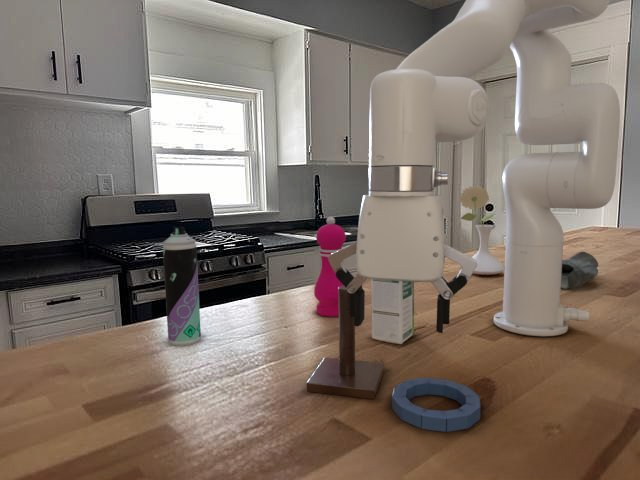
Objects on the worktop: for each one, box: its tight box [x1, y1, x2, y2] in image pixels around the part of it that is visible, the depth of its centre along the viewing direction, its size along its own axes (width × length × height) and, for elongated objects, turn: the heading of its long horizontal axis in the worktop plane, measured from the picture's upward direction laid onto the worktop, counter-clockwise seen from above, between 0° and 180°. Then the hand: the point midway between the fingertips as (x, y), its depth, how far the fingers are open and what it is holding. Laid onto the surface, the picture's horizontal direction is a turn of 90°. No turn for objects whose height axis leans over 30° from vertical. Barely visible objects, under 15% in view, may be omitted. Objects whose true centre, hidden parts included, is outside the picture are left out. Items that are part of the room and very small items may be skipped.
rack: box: [306, 286, 385, 400], centre depth 63 cm, size 9×9×13 cm
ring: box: [391, 377, 481, 433], centre depth 56 cm, size 10×10×2 cm
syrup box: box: [370, 279, 415, 345], centre depth 80 cm, size 6×6×14 cm
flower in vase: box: [458, 185, 505, 276], centre depth 131 cm, size 13×11×25 cm
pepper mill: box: [313, 216, 347, 318], centre depth 95 cm, size 7×7×20 cm
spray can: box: [162, 226, 202, 347], centre depth 80 cm, size 6×6×20 cm
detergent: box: [561, 251, 599, 290], centre depth 122 cm, size 13×7×25 cm
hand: (398, 326), depth 56 cm, fingers open, 9 cm apart
